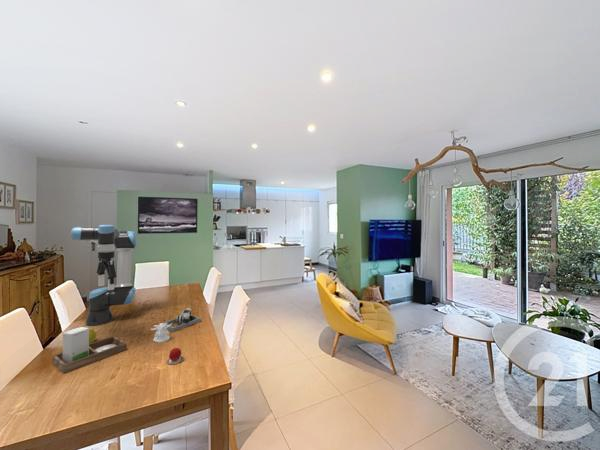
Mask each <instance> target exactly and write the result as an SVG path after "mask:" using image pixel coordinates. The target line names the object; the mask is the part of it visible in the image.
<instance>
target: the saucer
mask: <svg viewBox="0 0 600 450" xmlns="http://www.w3.org/2000/svg"><path fill="white" fill-rule="evenodd" d="M115 346H116V345H114V344H111V345H105V346H102V347H99V348H97V349H96V351H97V352H101V351H104V350H106V349H109V348H112V347H115Z"/></svg>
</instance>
